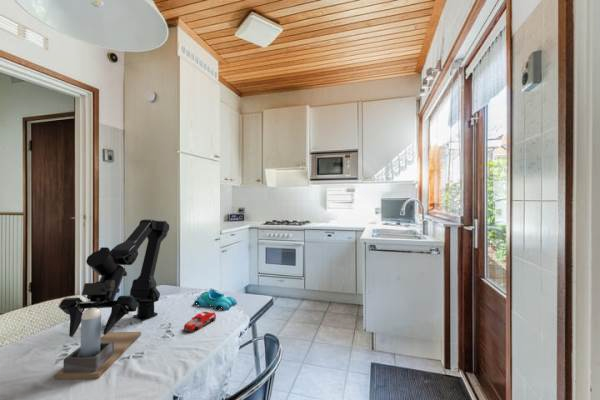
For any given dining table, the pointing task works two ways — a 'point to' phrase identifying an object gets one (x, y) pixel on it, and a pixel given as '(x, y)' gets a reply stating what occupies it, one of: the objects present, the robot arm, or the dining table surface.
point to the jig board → (97, 357)
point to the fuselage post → (90, 332)
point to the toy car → (215, 300)
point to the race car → (199, 321)
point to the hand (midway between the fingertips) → (87, 335)
